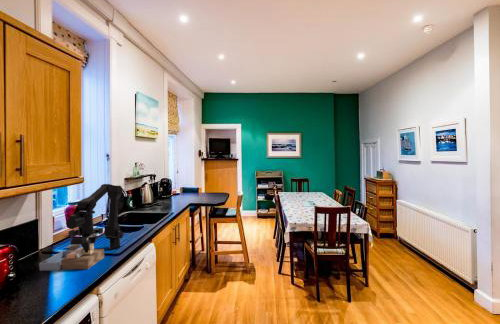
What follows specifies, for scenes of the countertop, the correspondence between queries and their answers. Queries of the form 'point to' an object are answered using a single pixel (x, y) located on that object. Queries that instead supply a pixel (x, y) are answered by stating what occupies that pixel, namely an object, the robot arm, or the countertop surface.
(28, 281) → the countertop surface
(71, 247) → the cleaver
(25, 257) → the countertop surface
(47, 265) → the box
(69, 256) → the tile terracotta
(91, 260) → the brown square tray
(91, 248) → the scraper
